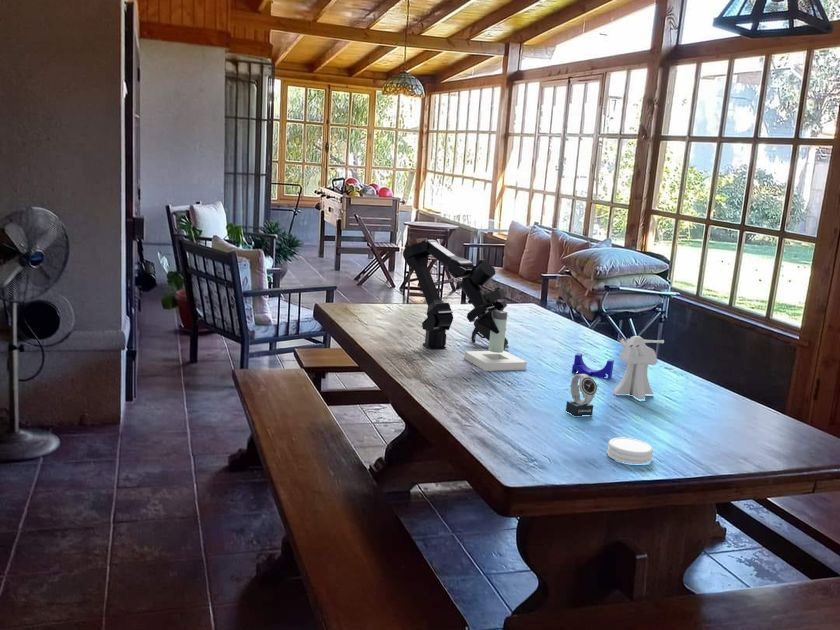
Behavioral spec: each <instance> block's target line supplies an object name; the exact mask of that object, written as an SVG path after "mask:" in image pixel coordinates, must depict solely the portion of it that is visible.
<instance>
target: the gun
mask: <svg viewBox="0 0 840 630" xmlns="http://www.w3.org/2000/svg"><path fill="white" fill-rule="evenodd" d="M477 320H478V318H477V317H476V318H475V321H473V326H474V328H473V330H472V333H471V336H470V337H471V342H472V343H473V342H474V343H476V338H477V336H478V337H479V338H480V339H486V340H487V341H488V342H489V339H490V330H489V329H488V328H486V327H484V326H482V325H481V324H479V323H476V321H477ZM508 344H509V341H508V339H507V338H506V337H505V341H504V350H505V349H507V350H508V349H509V347H510V346H509V345H508Z"/></svg>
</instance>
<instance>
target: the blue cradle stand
mask: <svg viewBox="0 0 840 630" xmlns="http://www.w3.org/2000/svg"><path fill="white" fill-rule="evenodd" d="M614 362H615V359H611V358H609V359H608V360H607V361H606V364H605V366H603V368H602V369H592V368H589V367H588V366H587V365H586V364H585V362H584V360H583V354H582V353H579V352H578V353H576V354H575V355H574V362H573V364H572V368H571V373H572V374H575V373H576V372H577V371H578V373H577V374H587V375H588V376H590V377H591V375H593V376H592V377H596V376H598V378H601V377H603V378H602V379H605V378H604V377H606V376H608V378H609V379H608V380H611V379H612V377H613V369H614V364H615V363H614Z"/></svg>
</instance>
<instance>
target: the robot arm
mask: <svg viewBox="0 0 840 630" xmlns="http://www.w3.org/2000/svg"><path fill="white" fill-rule="evenodd" d="M402 256H403V259H404V261H405V263H406V264H407V266H408V267H409V268H410V269H412V270H413V271H414V273H415V277H416V279H417V282H418V284H419V287H420V288H421V292H422V294H423V297H424V299H425V302H426V304H427V309H426V319H424V320H423V321H422V323H421V325H422V326H421V327H422V330H425V335H424V336H425V337H424V342H423V343H422V345H423V346H425V347H426V348H427V349H434V350H436V349H437V350H439V349H441V350H442V349H447V346H446V345H447V344H446V343H447V333H446V332H447V331H449V330H450V328H451V326H452V323H453V321H454V314H453V313H454V311H453V310H452V308H451V305H450V302H444V301H443V300H442V299H441V297H440V293H439V292H438V289H437V286H436V284H435V281H434V279H433V276H432V274H431V272H430V269H429V267H428V264H429V259H430V258H429V256H432V257H433V258H435V259H436V260H437V261H438V262H440V263H441V264H443V265H444V266H445V267H446V271H447V272H448V273H449V274H450V275H451V276H452V277H453V278H454V279H461V280H458V281H456V286H455V291H459V290H462V291H463V293H464V294H465V296H466V298H467V299H468V300H467V302H468V304H469V305H470V304H471V305H472V306H473V308H472V309H471V310H470V311H469V312H468V313H467V314H466V319H467V320H468V322H470V323H472V322H473V323H474V321H475V320H476V319H477V318H478V320H477V321H476V323H479V324H481V325H482V326H484V327H486V328H488V329H489V330H491V331H493V332H494V333H496V334H498V333H499V330H498V328H497V326H496V324H495V322H494V320H493V319H492V311H495V310H498V311H505V309H506V307H508V304H507V302H506V301H505V300H502V299H506V298H507V296H506V294H507V291H506V290H505V288H503V287H502V286H499V287H495V290H492V291H489V290H487V289H485V290H484V288H483V287H482V286H485V285H486V284H487V283H488V282H489V281H490V280H491V279H492V278H493V277H494V276H495V275H496V268H495V267H494V266H493V265H492V264H491V263H489V262H488V261H486V259H480V260H479V261H478V262H477V263H476V265H475V264H474V263H473V262H472V261H471V260H469V259H466V258H463V257H461V256H457V255H456V254H454V253H452V252H451V251H449V250H448V249H447V248H446V247H444V246H442V245H441V244H440V243H438V241H437V240H436V239H424V240H421V241H420V242H417V243H413V244H410V245H406V246H405V247H404V249H403V251H402Z"/></svg>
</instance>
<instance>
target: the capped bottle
mask: <svg viewBox="0 0 840 630" xmlns="http://www.w3.org/2000/svg"><path fill="white" fill-rule="evenodd" d="M492 319H493V320H494V322H495V324H496V326H497V328H498V330H499V333H498V334H496V333H494V332H493V331H491V330H490V339H489V341H488V350H487V351H491V352H496V353H502V352H503V351H505V349H504V341H505V338H506V331H507V320H508V312H507V311H505V310H503V311H498V310H495V311H492Z"/></svg>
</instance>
